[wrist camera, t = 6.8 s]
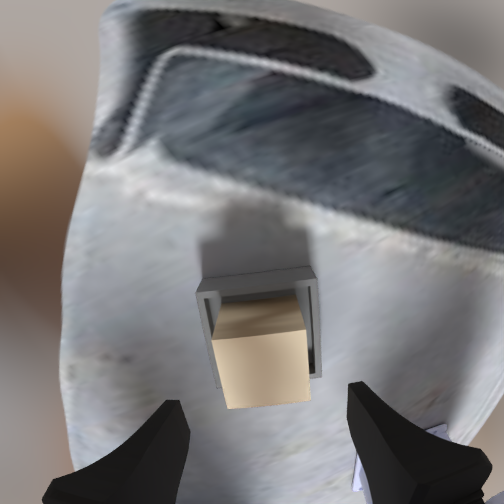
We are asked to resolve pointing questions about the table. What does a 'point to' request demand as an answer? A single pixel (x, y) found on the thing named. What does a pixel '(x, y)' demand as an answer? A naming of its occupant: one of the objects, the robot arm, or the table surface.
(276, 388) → the maple cube
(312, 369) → the board
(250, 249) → the table surface
